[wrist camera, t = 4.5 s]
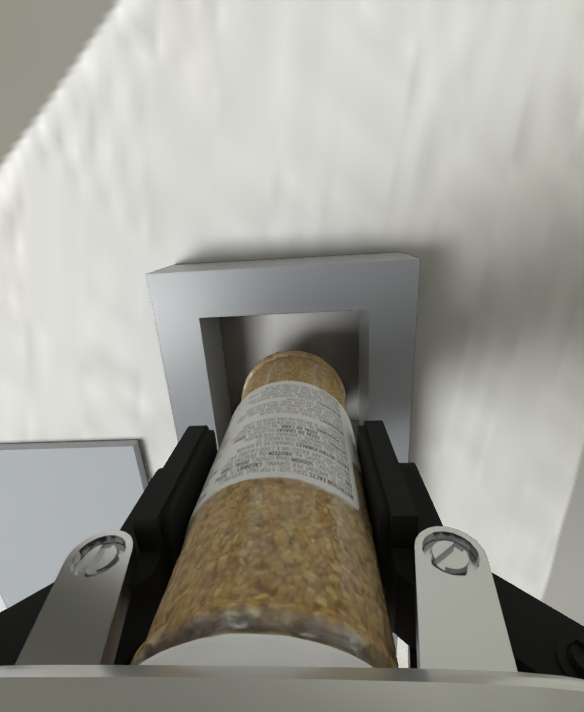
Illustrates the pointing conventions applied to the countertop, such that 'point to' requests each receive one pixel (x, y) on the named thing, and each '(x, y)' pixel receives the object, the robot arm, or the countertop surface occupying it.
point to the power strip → (283, 296)
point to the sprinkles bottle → (279, 538)
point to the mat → (60, 505)
